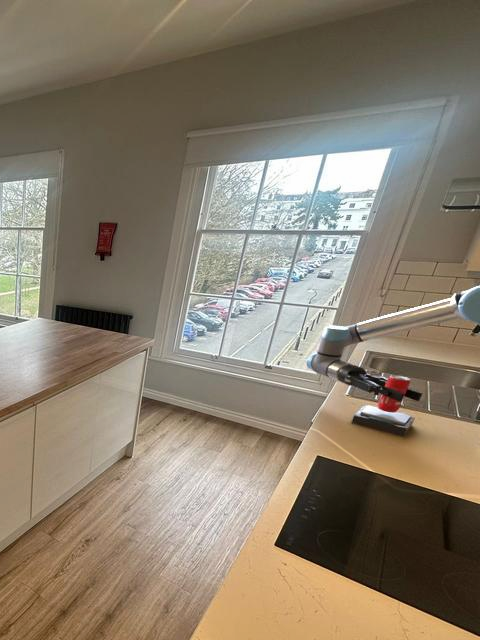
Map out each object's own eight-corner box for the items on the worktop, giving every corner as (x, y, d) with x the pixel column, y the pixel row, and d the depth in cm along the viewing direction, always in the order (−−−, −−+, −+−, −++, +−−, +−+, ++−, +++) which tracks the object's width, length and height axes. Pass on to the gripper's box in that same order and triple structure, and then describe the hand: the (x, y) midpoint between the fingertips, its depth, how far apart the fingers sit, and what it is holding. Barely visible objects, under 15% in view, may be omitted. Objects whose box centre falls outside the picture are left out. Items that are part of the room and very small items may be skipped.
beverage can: (384, 412, 136) (397, 379, 131) (372, 406, 140) (385, 374, 136) (401, 413, 135) (415, 380, 130) (389, 407, 140) (402, 375, 135)
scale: (411, 425, 137) (415, 415, 136) (403, 436, 130) (407, 426, 129) (361, 412, 147) (365, 403, 146) (351, 422, 140) (354, 413, 139)
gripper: (367, 382, 153) (433, 407, 132) (320, 383, 153) (379, 408, 132) (374, 363, 150) (443, 386, 129) (326, 364, 150) (387, 387, 129)
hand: (410, 397), depth 130 cm, fingers closed on beverage can, 5 cm apart
